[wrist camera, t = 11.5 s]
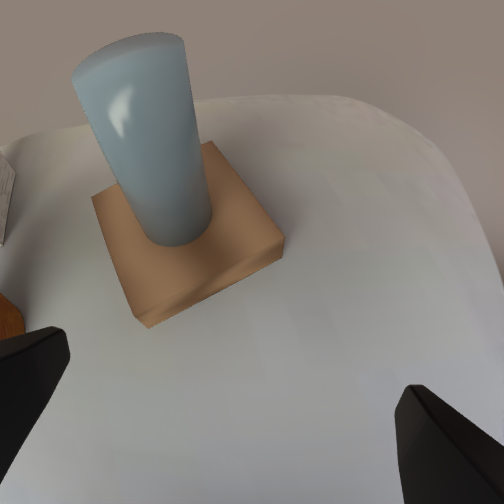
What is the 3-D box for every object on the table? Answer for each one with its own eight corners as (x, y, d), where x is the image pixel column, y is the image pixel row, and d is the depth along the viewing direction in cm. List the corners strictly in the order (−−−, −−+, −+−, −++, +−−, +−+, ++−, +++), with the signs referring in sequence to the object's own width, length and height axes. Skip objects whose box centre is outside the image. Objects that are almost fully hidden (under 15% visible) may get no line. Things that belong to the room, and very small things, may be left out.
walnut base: (148, 328, 21) (134, 316, 19) (104, 217, 26) (91, 197, 23) (281, 257, 24) (285, 237, 21) (214, 164, 28) (211, 140, 26)
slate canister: (179, 260, 20) (113, 99, 9) (127, 223, 22) (53, 79, 11) (227, 205, 22) (209, 39, 11) (173, 176, 24) (134, 29, 13)
